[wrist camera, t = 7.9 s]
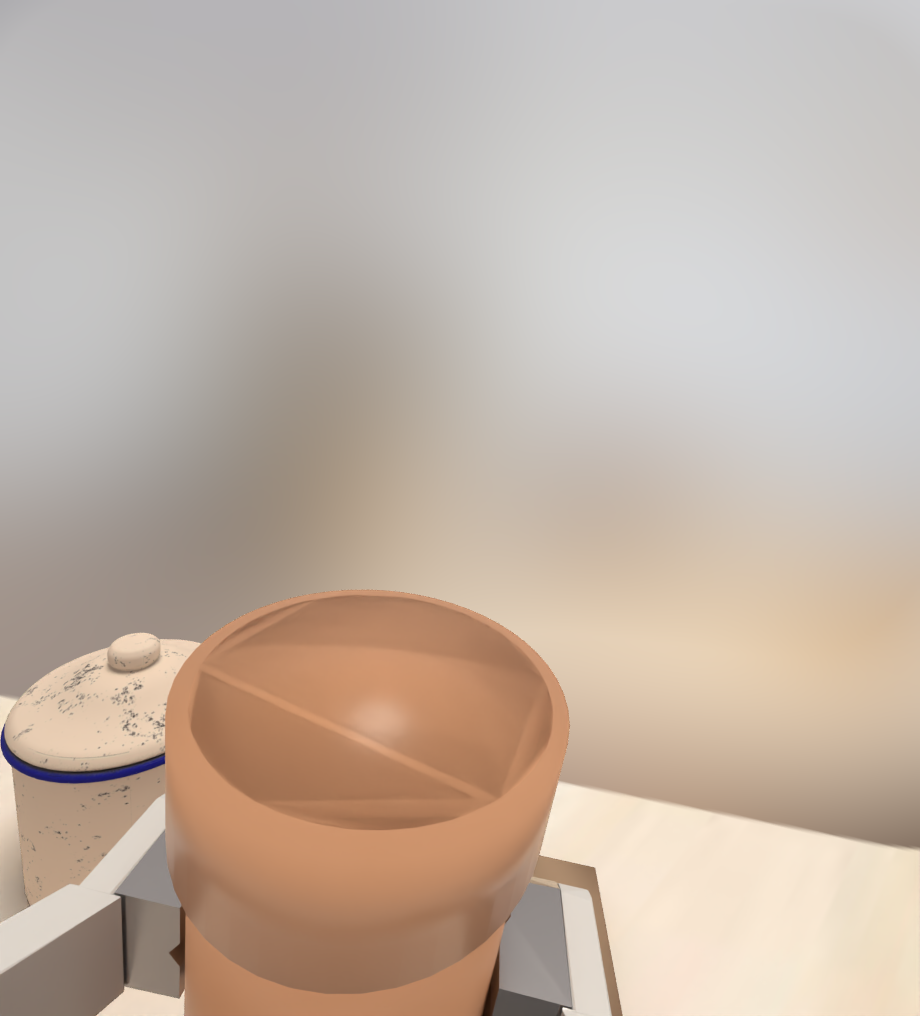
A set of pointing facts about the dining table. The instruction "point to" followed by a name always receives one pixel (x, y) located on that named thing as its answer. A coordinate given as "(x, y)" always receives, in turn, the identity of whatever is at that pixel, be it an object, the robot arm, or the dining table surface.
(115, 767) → the teacup with lid
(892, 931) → the dining table surface
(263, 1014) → the peach lidded canister
